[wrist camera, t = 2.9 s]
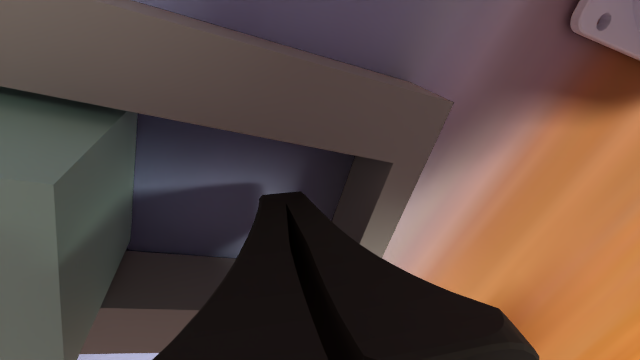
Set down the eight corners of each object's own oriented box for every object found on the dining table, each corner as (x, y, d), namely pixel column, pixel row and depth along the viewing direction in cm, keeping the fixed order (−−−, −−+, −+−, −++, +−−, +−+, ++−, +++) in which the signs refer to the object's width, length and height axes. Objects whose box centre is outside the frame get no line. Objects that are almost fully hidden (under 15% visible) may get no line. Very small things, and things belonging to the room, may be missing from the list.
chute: (410, 82, 11) (454, 102, 9) (324, 299, 15) (339, 349, 13) (-322, -133, 6) (-644, -211, 4) (-151, 282, 10) (-258, 359, 8)
